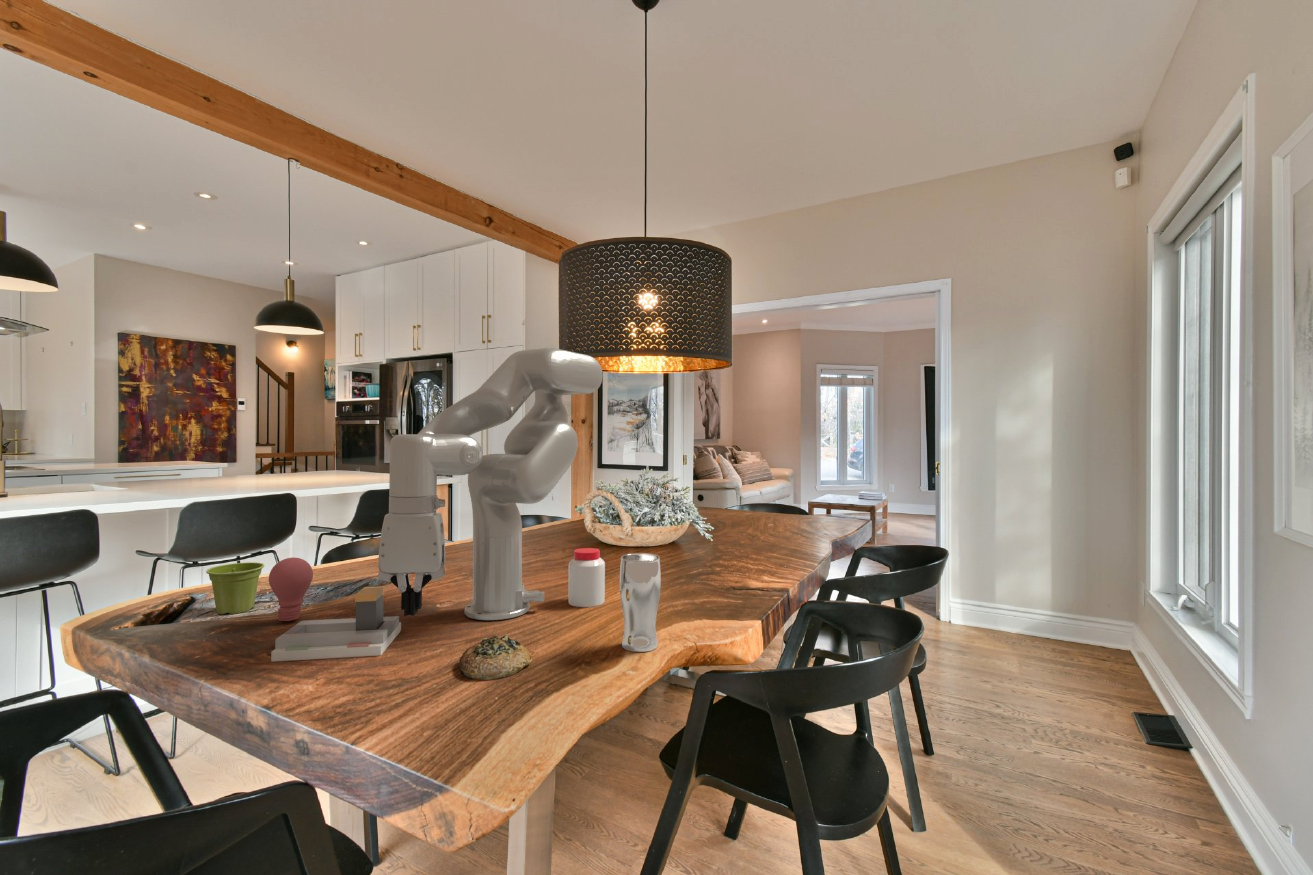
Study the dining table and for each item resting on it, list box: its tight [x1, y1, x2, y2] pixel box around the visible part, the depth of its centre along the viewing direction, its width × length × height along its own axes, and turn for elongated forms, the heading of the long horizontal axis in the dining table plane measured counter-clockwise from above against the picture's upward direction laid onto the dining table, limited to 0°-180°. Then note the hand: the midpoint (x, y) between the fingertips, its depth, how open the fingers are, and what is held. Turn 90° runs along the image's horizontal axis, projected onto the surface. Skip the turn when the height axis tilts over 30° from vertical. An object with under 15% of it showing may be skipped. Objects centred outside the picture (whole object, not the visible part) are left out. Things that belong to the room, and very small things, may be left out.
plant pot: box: [205, 561, 265, 615], centre depth 116 cm, size 9×9×9 cm
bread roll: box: [458, 634, 533, 681], centre depth 89 cm, size 11×11×5 cm
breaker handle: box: [354, 586, 385, 631], centre depth 98 cm, size 3×5×7 cm
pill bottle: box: [567, 547, 606, 608], centre depth 123 cm, size 8×8×11 cm
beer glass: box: [619, 552, 662, 653], centre depth 97 cm, size 7×7×15 cm
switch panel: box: [270, 615, 402, 662], centre depth 97 cm, size 16×12×3 cm
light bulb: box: [268, 557, 314, 622], centre depth 109 cm, size 7×7×12 cm
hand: (411, 613), depth 99 cm, fingers closed
